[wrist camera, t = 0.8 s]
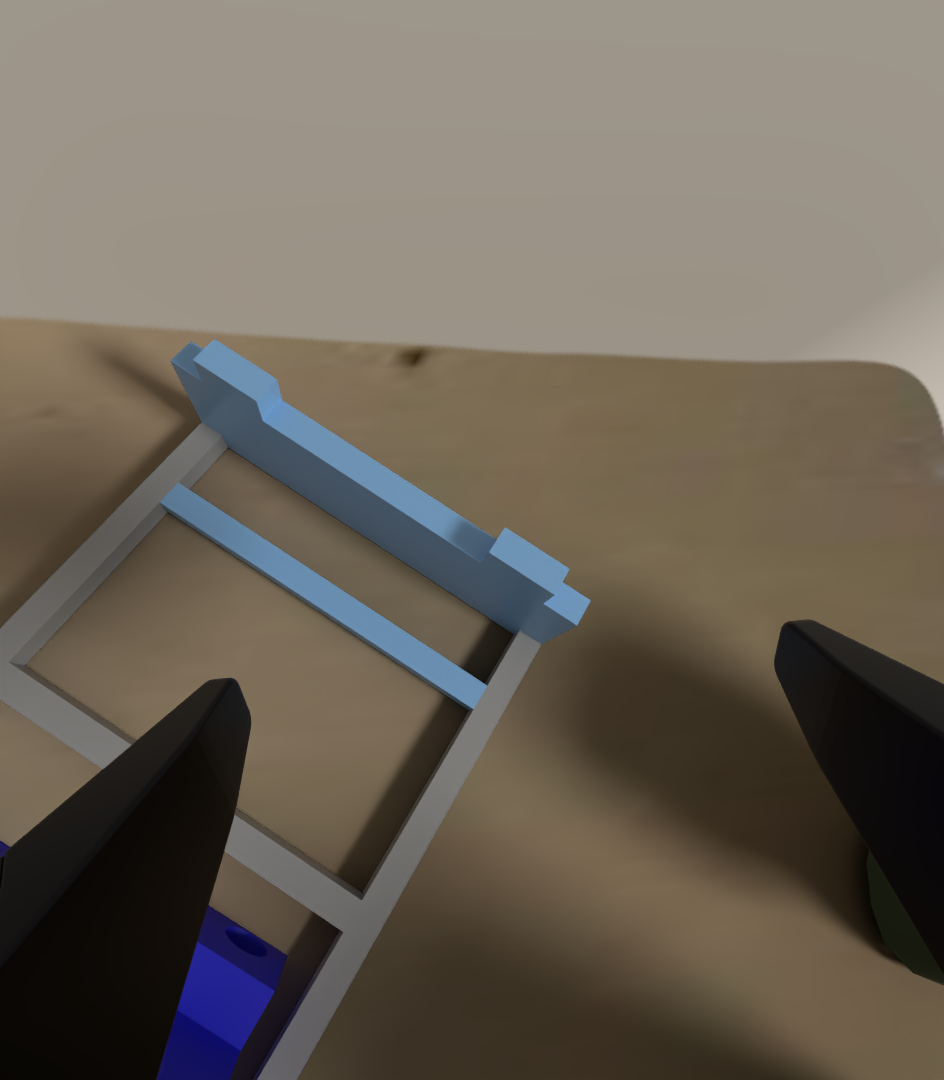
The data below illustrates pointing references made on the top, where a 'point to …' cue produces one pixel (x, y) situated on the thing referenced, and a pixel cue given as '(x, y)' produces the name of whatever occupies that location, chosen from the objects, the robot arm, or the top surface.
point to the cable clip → (218, 999)
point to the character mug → (899, 926)
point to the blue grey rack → (385, 519)
